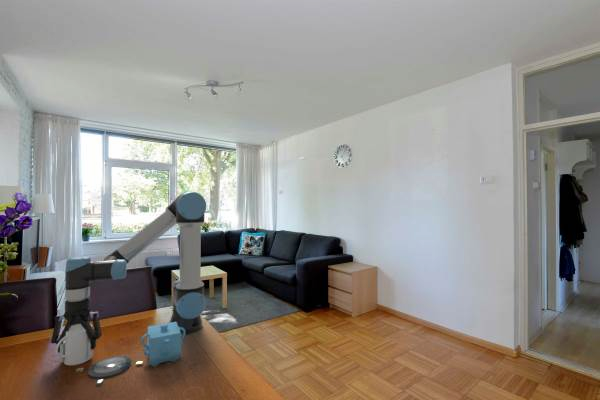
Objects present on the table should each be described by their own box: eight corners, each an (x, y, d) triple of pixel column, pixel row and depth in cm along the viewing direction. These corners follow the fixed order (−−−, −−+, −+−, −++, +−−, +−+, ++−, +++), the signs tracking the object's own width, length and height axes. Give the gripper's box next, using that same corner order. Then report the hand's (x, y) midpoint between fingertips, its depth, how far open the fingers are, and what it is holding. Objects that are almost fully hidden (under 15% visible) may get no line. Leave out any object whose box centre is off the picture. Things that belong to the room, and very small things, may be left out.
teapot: (139, 356, 115) (140, 323, 115) (182, 346, 123) (183, 315, 123) (142, 380, 99) (142, 342, 99) (190, 368, 107) (191, 332, 107)
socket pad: (146, 355, 115) (146, 352, 115) (134, 380, 99) (134, 377, 99) (84, 362, 110) (85, 359, 110) (60, 390, 93) (60, 386, 93)
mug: (60, 372, 103) (61, 338, 103) (48, 366, 107) (49, 332, 107) (96, 357, 114) (97, 325, 114) (84, 351, 117) (85, 321, 118)
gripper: (112, 293, 117) (111, 351, 117) (50, 297, 112) (49, 357, 111) (105, 299, 110) (104, 360, 110) (38, 303, 104) (37, 368, 104)
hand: (76, 359), depth 111 cm, fingers closed on mug, 8 cm apart
